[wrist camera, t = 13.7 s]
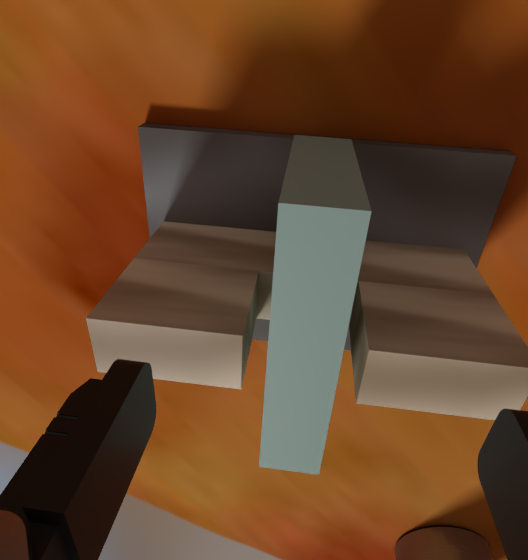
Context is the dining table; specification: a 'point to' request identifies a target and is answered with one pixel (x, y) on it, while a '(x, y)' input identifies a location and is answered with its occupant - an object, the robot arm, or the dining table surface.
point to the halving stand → (370, 286)
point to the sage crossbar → (311, 297)
